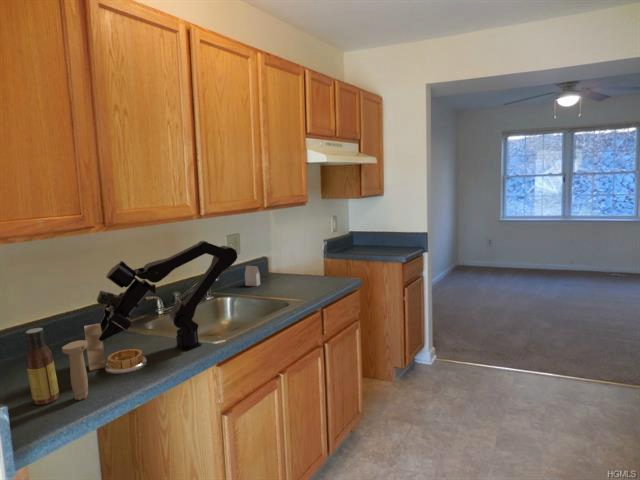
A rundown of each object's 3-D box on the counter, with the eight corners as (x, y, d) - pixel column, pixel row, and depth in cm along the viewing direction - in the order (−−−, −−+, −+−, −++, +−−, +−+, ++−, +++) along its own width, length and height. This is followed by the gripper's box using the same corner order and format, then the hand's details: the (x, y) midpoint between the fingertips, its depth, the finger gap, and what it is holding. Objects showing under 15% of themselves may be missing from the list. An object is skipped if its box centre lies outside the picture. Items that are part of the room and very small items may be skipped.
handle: (64, 402, 125) (57, 348, 123) (83, 391, 132) (76, 339, 129) (79, 404, 124) (72, 349, 122) (97, 393, 130) (91, 340, 128)
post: (104, 362, 152) (99, 323, 150) (105, 367, 148) (101, 327, 146) (88, 365, 150) (83, 326, 148) (89, 370, 146) (84, 330, 144)
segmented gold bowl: (132, 355, 157) (131, 345, 156) (154, 362, 150) (153, 352, 149) (97, 368, 147) (96, 358, 146) (119, 377, 140) (118, 365, 139)
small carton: (256, 286, 245) (255, 267, 244) (245, 285, 248) (244, 266, 246) (260, 284, 248) (259, 265, 247) (249, 283, 251) (247, 265, 250)
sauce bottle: (53, 392, 132) (44, 324, 129) (63, 398, 128) (54, 328, 125) (27, 402, 127) (17, 330, 124) (37, 409, 123) (26, 335, 120)
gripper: (108, 276, 156) (74, 314, 153) (115, 287, 140) (77, 330, 137) (136, 295, 161) (104, 333, 158) (145, 308, 145) (110, 350, 141)
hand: (98, 336), depth 148 cm, fingers open, 9 cm apart
